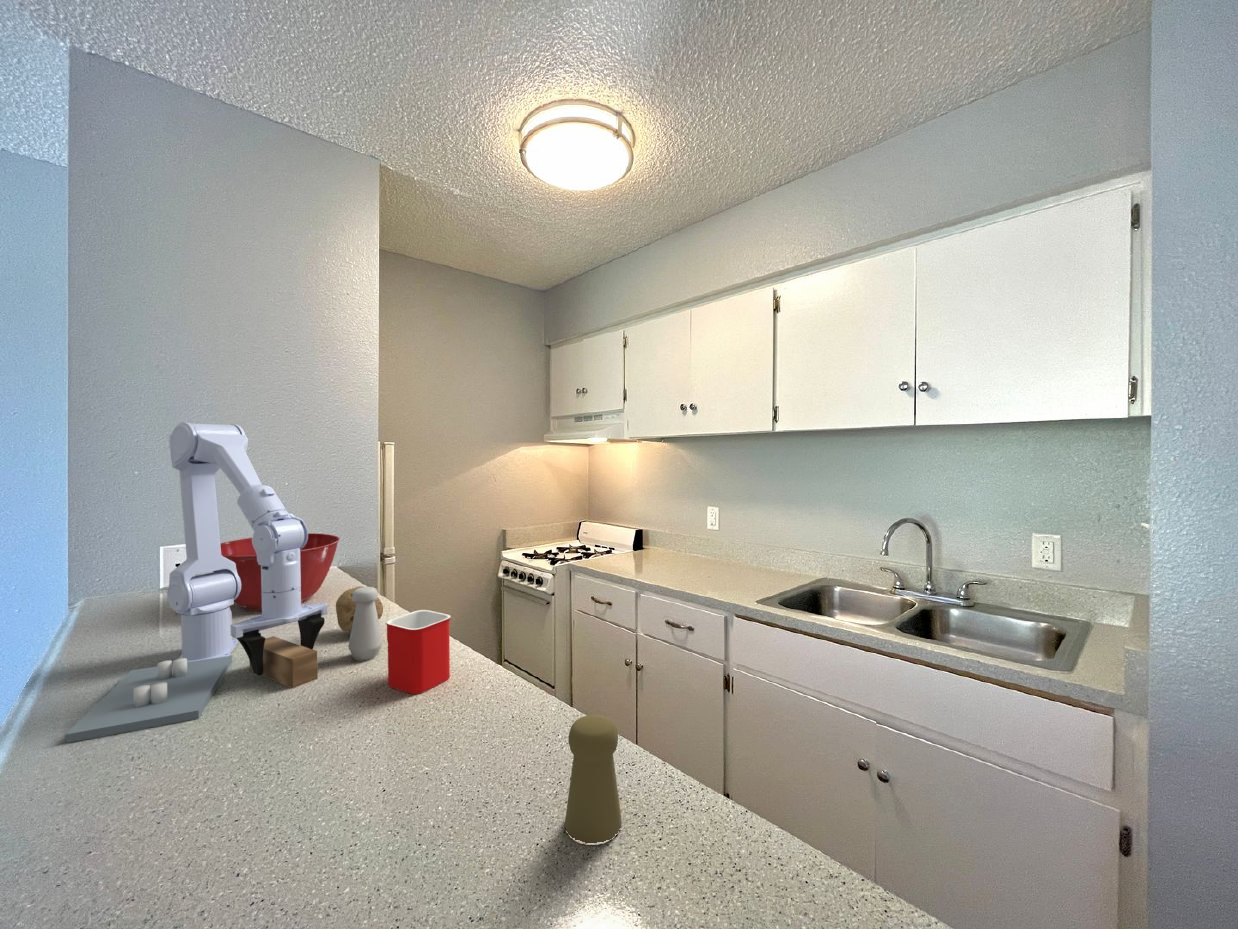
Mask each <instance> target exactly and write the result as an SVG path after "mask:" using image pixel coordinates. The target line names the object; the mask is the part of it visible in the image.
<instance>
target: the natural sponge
mask: <svg viewBox="0 0 1238 929" xmlns="http://www.w3.org/2000/svg"><path fill="white" fill-rule="evenodd" d="M362 587H363V586H356V587H352V588H349V589H347V590H345V591H344V592H342V594H340V596H339V597H338V598H337V600H336V603H335V611H336V617H337V624H338V627H339V628H340V629H341V630H342V631H343V632H347V633H349V634H350V635H351V630H352V625H353V620H354V615H355V610H356V605H357V603H355V602H353V599H352V595H353V592H354V591H355V590H356V589H359V588H362ZM375 606H376V611H377V616H378V621H379V620H380V619H381V618H382V617H383V614H384V604H383V602H382V601H381V599H380V597H378V598H377V599H376V600H375Z"/></svg>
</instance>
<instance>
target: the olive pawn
mask: <svg viewBox="0 0 1238 929" xmlns="http://www.w3.org/2000/svg"><path fill="white" fill-rule="evenodd" d="M567 737H568V745H569V749H570V753H571V754H572V755H573V760H572V766H571V774H570V780H569V788H568V789H569V791H568V796H567V805H566V812H565V819H564V829H565V828H566V831H567V832H568V834H569V835H570V836H571V837H572V838H575V840H580V841H582V842H585V843H597V842H604V841H606V840H610V839H612V838H613V837H614V836H615V834H617V833H618V831H619V829H620V828H621V829H622V826H621V822H622V823H623V821H622V815H621V814H622V813H621V805H620V797H619V791H618V781H617V774H616V768H615V759H614V753H615V751H617V748H618V742H619V732H618V729H617V726H616V724H615V723H614V721H613V720H611V719H610V718H609V717H607V716H605V715H601V714H588V715H583V716H581V717H580V718H579V717H578V719H576V720H575V721H574V722H573V723H572V725H571V727H570V729H569V732H568V736H567ZM566 831H565V832H566Z"/></svg>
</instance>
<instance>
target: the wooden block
mask: <svg viewBox="0 0 1238 929" xmlns="http://www.w3.org/2000/svg"><path fill="white" fill-rule="evenodd" d="M248 660H249V659H248ZM263 667H264V670H263V675H262V676H263V677H266V678H268V679H271V680H273V681H274V682H277V683H280V684H282V685H285V686H287V687H289V688H291V689H295V688H298V687H300V686H303V685H305V684H308V683H311V682H314V681H315V680H318V678H319V677H318V674H319V673H318V651H317V650H314V649H313V650H312V649H309V648H306V647H303V646H301V644H298V643H294V642H292V641H288V640H286V639H282V638H280V637H277V636H274V635H273V636H269V637H265V643H264V649H263ZM249 671H252V672H253V670H252V666H251V663H250V660H249Z"/></svg>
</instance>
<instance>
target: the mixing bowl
mask: <svg viewBox="0 0 1238 929" xmlns="http://www.w3.org/2000/svg"><path fill="white" fill-rule="evenodd" d="M340 540H341V538H340V537H339V536H338V535H337V536H336V535H333V534H328V533H327V534H326V533H312V532H311V533H309V532H308V540H307V543H306V545H305V546H304V547H303V548H302V549H300V570H301V604H302V603H304V602H306V601H307V600H308V599H309V598H311V597H312V596H314V595H315V594H316V593H317V591H319V590H320V588H321V586H322V585H323V583H324V581H325V579H326V578H327V576H328V573H329V571H330V568H331V567H332V563H333V561H334V557H335V556H336V555H335V554H336V551H337V547H338V542H340ZM220 546H221V555H222V556H223V557H225V558H227V559H229V560H231V561H233V562H234V563H235V564H236V570H237V573H238V576H239V577H240V580H241V591H240V593H239V596H238V597H237V598H236V599H235V600H234V604H237V605H238V606H239V607H243V608H245V609H247V610H250V611H251V610H252V611H262V589H261V565H259V564H258V562H257V554H256V551H255V550H254V547H253V544H252V537H247V538H241V539H240V538H239V539H235V540H230V541H226V542H225V541H224V542H220ZM213 572H218V571H212V573H213Z"/></svg>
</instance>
